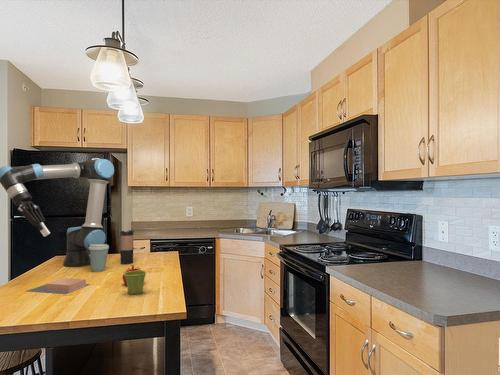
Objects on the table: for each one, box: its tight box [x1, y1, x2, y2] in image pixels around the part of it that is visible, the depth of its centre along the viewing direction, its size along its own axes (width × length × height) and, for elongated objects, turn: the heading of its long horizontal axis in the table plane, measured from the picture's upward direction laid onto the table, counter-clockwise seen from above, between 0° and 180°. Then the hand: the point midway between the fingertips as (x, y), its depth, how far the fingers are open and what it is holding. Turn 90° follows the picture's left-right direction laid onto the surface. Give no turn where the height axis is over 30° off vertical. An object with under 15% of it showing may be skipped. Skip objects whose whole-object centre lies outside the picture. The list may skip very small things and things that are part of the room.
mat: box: [25, 283, 92, 295], centre depth 152 cm, size 16×21×1 cm
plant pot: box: [123, 270, 147, 295], centre depth 146 cm, size 9×9×9 cm
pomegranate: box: [122, 264, 143, 287], centre depth 160 cm, size 10×10×9 cm
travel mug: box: [119, 230, 134, 265], centre depth 208 cm, size 8×8×20 cm
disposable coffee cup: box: [88, 243, 110, 273], centre depth 188 cm, size 11×11×15 cm
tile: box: [46, 277, 87, 293], centre depth 151 cm, size 10×3×12 cm
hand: (47, 234), depth 161 cm, fingers closed
